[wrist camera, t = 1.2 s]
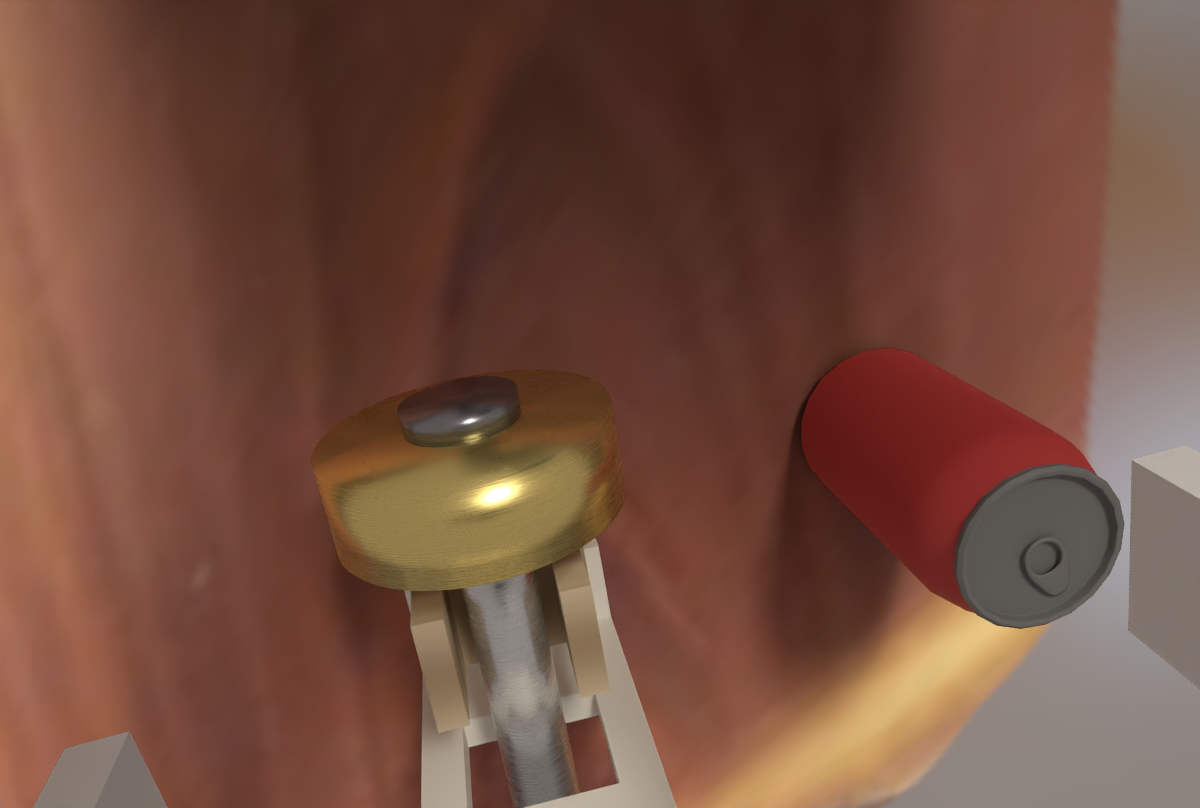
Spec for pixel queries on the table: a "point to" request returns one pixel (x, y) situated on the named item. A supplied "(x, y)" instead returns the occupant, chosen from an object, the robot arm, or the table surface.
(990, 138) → the table surface
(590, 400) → the gold disc on rod
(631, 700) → the beige slotted stand
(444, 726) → the cradle
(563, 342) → the table surface
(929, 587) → the beer can
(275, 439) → the table surface
